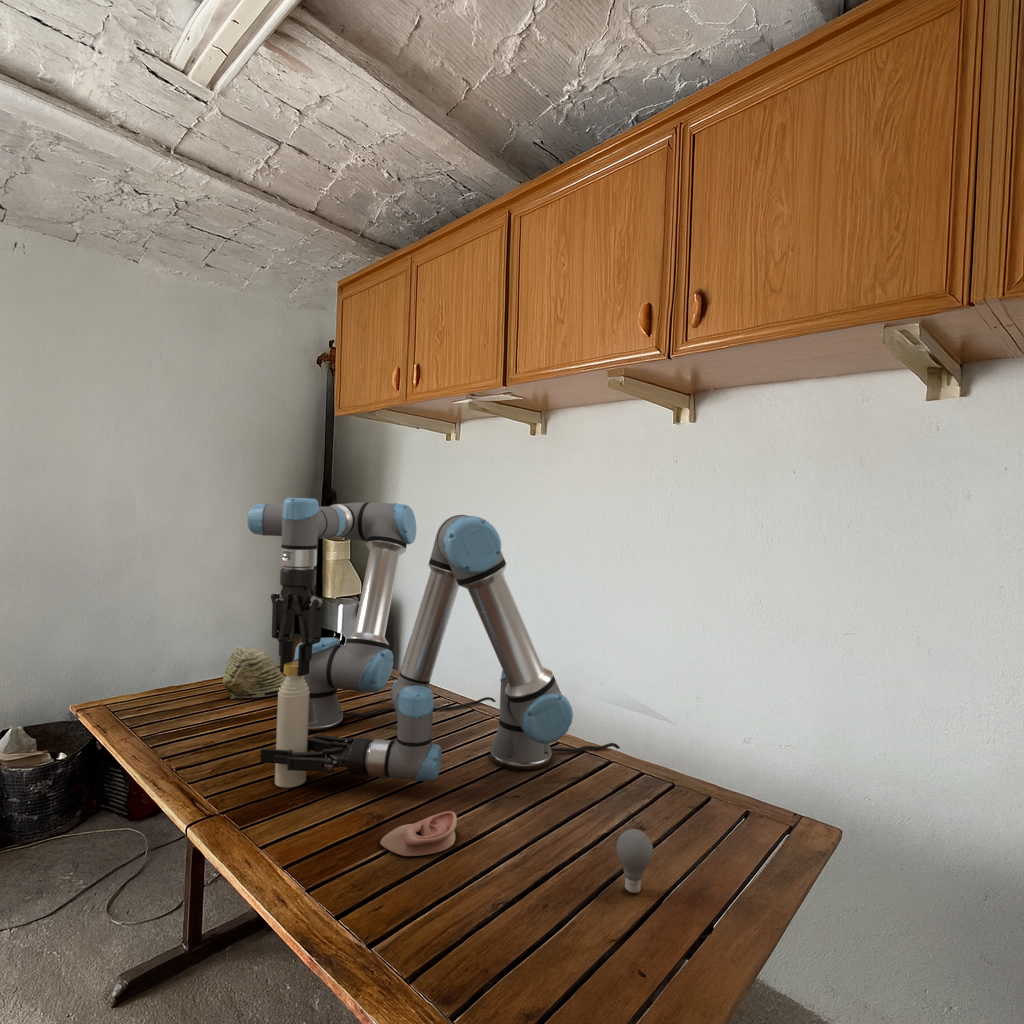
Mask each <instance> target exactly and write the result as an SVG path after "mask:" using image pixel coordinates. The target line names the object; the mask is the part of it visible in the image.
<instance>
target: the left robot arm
mask: <svg viewBox="0 0 1024 1024" xmlns="http://www.w3.org/2000/svg"><path fill="white" fill-rule="evenodd" d="M246 522H247V527H248V530H249V531H250V532H251V533H252V534H254V535H258V536H259V535H260V536H263V537H265V536H267V537H269V536H270V537H281V547H280V549H281V550H280V566H281V567H282V568H281V569H280V570H279V574H280V575H279V585H280V586H282V587H281V590H280V592H276V593H271V595H270V599H271V604H272V605H271V606H272V607H271V608H272V610H271V638H272V639H276V640H277V641H278V656H279V657H280V658H279V659H280V660H279V670H280V672H281V673H282V674H284V664H285V663H288V662H298V676H303V677H304V680H305V681H306V683H307V686H308V687H309V691H310V694H309V721H308V733H316V732H325V731H329V730H332V729H335V728H337V727H339V726H340V725H342V723H343V722H344V716H349V717H352V716H353V717H368V716H372V715H374V714H377V713H381V712H387V711H388V712H389V711H395V707H394V706H393V707H392V706H391V707H382V708H378V709H375V710H371V711H369V712H363V713H362V712H361V713H359V712H346V711H345V712H343V709H342V706H341V702H340V699H339V695H338V690H344V691H345V690H347V691H354V692H360V693H377V692H380V691H381V690H382V689H383V688H384V687H385V685H387V684H388V681H389V680H390V677H391V675H392V671H393V668H394V654H393V651H392V650H390V649H389V646H390V644H389V642H388V641H387V639H386V632H387V626H388V620H389V614H390V610H391V604H392V598H393V593H394V587H395V583H396V577H397V571H398V565H399V560H400V556H401V555H403V554H404V553H405V552H406V551H407V546H408V545H411V544H414V542H415V540H416V536H417V520H416V515H415V513H414V510H413V508H412V507H410V505H408V504H404V503H397V502H394V503H391V502H367V501H360V502H350V503H334V504H331V505H329V506H320V505H319V501H318V499H316V498H310V497H309V498H308V497H287V498H285V499H284V500H283V503H282V504H274V503H273V504H271V503H256V504H254V505H252V506H251V507H250V508H249V510H248V512H247V520H246ZM334 538H344V539H350V540H355V541H360V542H365V546H366V547H367V548H368V550H369V554H368V559H367V564H366V569H365V573H364V579H363V583H362V589H361V593H360V598H359V604H358V609H357V615H356V618H355V624H354V627H353V632H352V633H351V634H350V635H348V636H347V637H346V641H345V644H343V645H342V644H340V643H341V641H340V639H339V638H338V637H334V636H333V637H322V617H323V615H322V614H323V609H324V605H325V602H326V601H325V599H324V598H323V597H322V598H319V597H317V596H316V594H315V591H314V587H315V585H316V584H317V583H316V582H317V570H316V569H315V567H317V562H318V559H317V558H318V540H319V539H320V540H323V539H326V540H330V539H334ZM295 616H297V618H298V625H299V632H300V640H301V642H299V643H298V644H297V645H296V647H295V652H294V653H295V654H294V659H293V640H292V639H293V637H291V636H292V635H291V634H292V629H293V626H294V621H295ZM485 701H491V702H493V703H496V702H497V701H496V700H495V699H494V698H493V697H490V696H486V697H483V698H480V699H477V700H474V701H469V702H465V703H461V704H458V705H450V706H439V707H434V708H433V711H447V710H455V709H461V708H464V707H465V708H466V707H468V706H473V705H476V704H479V703H482V702H485Z"/></svg>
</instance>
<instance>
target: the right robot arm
mask: <svg viewBox="0 0 1024 1024" xmlns="http://www.w3.org/2000/svg"><path fill="white" fill-rule="evenodd" d="M428 567H429V569H430V573H429V576H428V579H427V582H426V585H425V589H424V592H423V594H422V595H423V596H422V598H421V601H420V604H419V608H418V612H417V614H416V617H415V621H414V624H413V628H412V631H411V634H410V638H409V641H408V644H407V647H406V650H405V653H404V657H403V661H402V664H401V667H400V670H399V674H398V676H397V679H396V680H395V681H394V683H393V684H392V687H391V691H390V699H391V700H390V701H391V702H392V704H393V707H395V710H394V711H395V714H396V717H397V726H396V727H397V730H396V731H397V734H396V740H391V739H378V738H374V739H371V738H364V737H357V738H354V737H339V736H333V735H332V736H331V735H324V734H323V735H322V734H313V735H312V736H308V747H307V752H303V753H292V750H289V751H288V750H276V748H264V747H263V748H261V749H260V763H266V764H275V763H277V764H288V767H287V770H293V771H307V772H316V773H317V772H318V773H319V772H320V773H326V774H333V773H334V769H335V768H345V767H346V769H347V770H348V773H349V774H350V775H352V776H353V775H354V776H365V777H366V776H367V775H368V776H369V777H378V778H380V779H384V778H390V779H399V780H400V779H402V780H408V781H409V780H410V781H415V782H432V781H436V779H438V777H439V775H440V771H441V767H442V761H443V753H442V751H443V750H442V747H441V746H440V745H439V744H436V743H434V742H433V736H432V735H433V719H434V718H433V717H434V716H433V715H434V710H433V708H435V703H434V692H433V690H432V689H431V688H430V687H429V685H430V683H431V679H432V676H433V672H434V669H435V666H436V663H437V659H438V656H439V653H440V650H441V647H442V643H443V640H444V637H445V634H446V630H447V628H448V625H449V621H450V618H451V614H452V611H453V607H454V606H455V605H454V604H455V601H456V598H457V596H458V595H457V594H458V592H459V589H460V587H461V588H464V589H466V590H467V591H468V593H469V595H470V598H471V600H472V602H473V604H474V607H475V609H476V612H477V614H478V616H479V618H480V621H481V623H482V625H483V628H484V630H485V632H486V635H487V637H488V639H489V641H490V644H491V646H492V649H493V651H494V652H495V656H496V658H497V660H498V662H499V665H500V667H501V669H502V670H501V673H500V674H501V675H500V680H499V681H500V689H499V690H500V693H499V717H498V718H499V719H498V727H497V730H496V733H495V736H494V739H493V741H492V744H491V746H490V756H489V757H490V760H491V762H493V763H494V764H495V765H497V766H500V767H502V768H504V769H508V770H514V771H534V770H539V769H542V768H545V767H547V766H549V765H550V763H551V762H552V753H553V752H569V753H576V752H581V751H584V750H596V751H597V750H599V751H600V750H605V749H608V748H610V747H614V748H615V749H618V750H619V749H621V747H620V746H619V744H617V743H615V742H609V743H607V744H603V745H599V746H598V745H583V746H580V747H576V748H575V747H574V748H573V747H572V748H571V747H551V745H550V744H552V743H555V742H557V741H558V740H560V739H561V738H563V737H564V736H565V735H566V734H567V732H568V731H569V729H570V727H571V725H572V723H573V718H574V714H573V713H574V711H573V708H572V705H571V703H570V701H569V699H567V697H566V696H565V695H563V694H562V692H561V689H560V687H559V685H558V682H557V679H556V677H555V676H554V672H553V671H552V670H551V669H550V668H547V667H545V666H543V664H542V662H541V659H540V657H539V655H538V652H537V649H536V648H535V645H534V643H533V641H532V638H531V636H530V634H529V632H528V631H529V630H528V629H527V626H526V624H525V622H524V620H523V617H522V615H521V613H520V610H519V608H518V604H517V603H516V601H515V600H516V599H515V598H514V595H513V593H512V591H511V589H510V586H509V585H508V582H507V580H506V577H505V575H504V573H505V570H506V567H507V562H506V559H505V557H504V554H503V552H502V541H501V536H500V534H499V532H498V530H497V528H495V526H493V524H491V523H490V522H489V521H488V520H486V519H484V518H482V517H479V516H475V515H467V514H456V515H453V516H450V517H448V518H446V519H445V520H444V521H443V522H442V523H441V525H440V526H439V527H438V530H437V532H436V534H435V539H434V543H433V545H432V549H431V555H430V558H429V561H428Z"/></svg>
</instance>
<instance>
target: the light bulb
mask: <svg viewBox="0 0 1024 1024" xmlns="http://www.w3.org/2000/svg"><path fill="white" fill-rule="evenodd" d="M615 849H616V854H617V857H618V859H619V861H620V863H621V865H622V867H623V873H624V874H623V875H624V876H625V878H624V888H625V890H627V891H628V892H630V893H634V894H635V893H639V892H640V891H641V889H642V887H641V886H642V879H643V877H644V875H645V871H646V868H647V867H648V866H649V864H650V863H651V861H652V859H653V855H654V847H653V843H652V841H651V838H649V836H648V835H647V834H646V833H645V832H643V831H642V830H641V829H636V828H629V829H627V830H625V831H623V832H622V833H621V834H620V835H619V837H618V839H617V841H616V847H615Z"/></svg>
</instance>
